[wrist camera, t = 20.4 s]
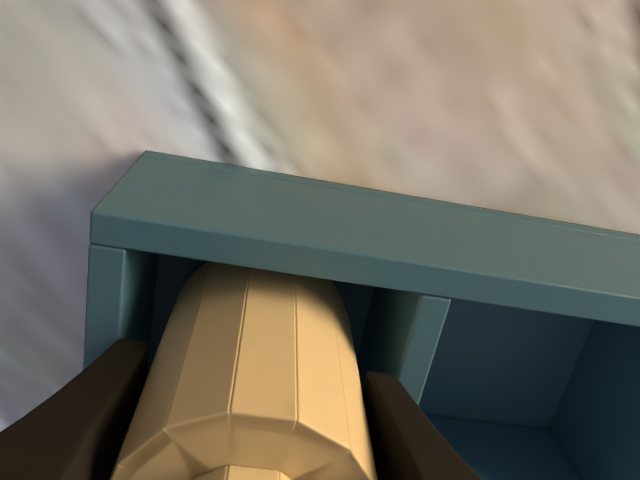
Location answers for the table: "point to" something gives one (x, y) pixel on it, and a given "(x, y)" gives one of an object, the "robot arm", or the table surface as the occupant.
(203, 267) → the cream bottle
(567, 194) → the table surface
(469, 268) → the carrier
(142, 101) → the table surface
